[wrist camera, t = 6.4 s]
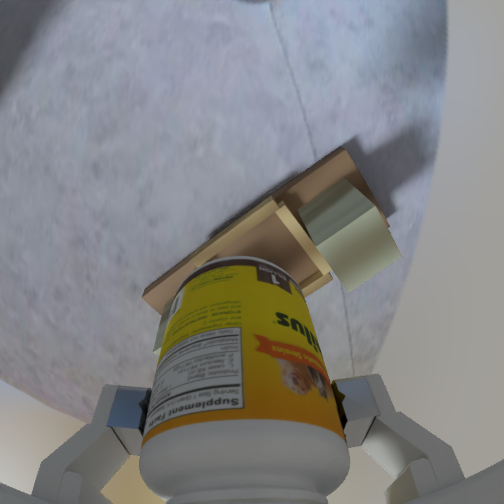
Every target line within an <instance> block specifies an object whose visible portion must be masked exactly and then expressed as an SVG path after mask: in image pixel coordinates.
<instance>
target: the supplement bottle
mask: <svg viewBox="0 0 504 504" xmlns="http://www.w3.org/2000/svg"><path fill="white" fill-rule="evenodd" d="M349 468H350V456H349V451H348V446H347V441H346V437H345V434H344V431H343V427H342V423H341V420H340V416H339V412H338V408H337V405H336V401H335V398H334V394H333V390H332V387H331V384H330V379H329V377H328V374H327V370H326V367H325V364H324V360H323V356H322V353H321V350H320V347H319V343H318V340H317V336H316V333H315V330H314V327H313V323H312V320H311V317H310V314H309V310H308V307H307V304H306V301H305V298H304V296H303V293H302V291H301V289H300V287H299V286H298V284H297V283H296V281H295V280H294V279H293V278H292V277H291V276H290V275H289V274H288V273H287V272H286V271H284V270H283V269H282V268H280V267H278V266H277V265H275V264H273V263H271V262H268V261H266V260H263V259H260V258H256V257H250V256H229V257H223V258H219V259H215V260H212V261H210V262H207V263H205V264H203V265H202V266H200V267H198V268H197V269H195V270H194V271H193V272H191V273H190V274H189V275H188V276H187V277H186V278H185V279H184V281H183V282H182V283H181V285H180V286H179V288H178V290H177V292H176V294H175V297H174V300H173V303H172V307H171V311H170V315H169V319H168V323H167V326H166V331H165V335H164V339H163V343H162V347H161V352H160V356H159V360H158V364H157V369H156V374H155V379H154V383H153V388H152V393H151V398H150V403H149V408H148V413H147V418H146V423H145V429H144V434H143V440H142V444H141V451H140V459H139V470H140V474H141V476H142V479H143V481H144V482H145V484H146V485H147V486H148V488H149V489H150V490H151V491H152V492H154V493H155V494H156V495H157V496H159V497H160V498H162V499H164V500H166V501H167V502H166V504H328V500H327V498H326V496H328V495H329V494H331V493H332V492H334V491H335V490H336V489H337V488H338V487H339V486H340V485H341V484H342V483H343V481H344V480H345V478H346V476H347V474H348V471H349Z"/></svg>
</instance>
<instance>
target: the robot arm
mask: <svg viewBox="0 0 504 504" xmlns="http://www.w3.org/2000/svg"><path fill="white" fill-rule="evenodd" d="M331 387H332V390H333V394H334V398H335V401H336V405H337V408H338V412H339V416H340V420H341V423H342V427H343V431H344V434H345V437H346V441H347V446H348V448H351V447H356V446H361V448H363V449H364V450H365V451H366V452H367V453H368V454H369V455H370V456H371V457H372V458H373V459H374V460H375V461H376V462H377V463H378V464H379V465H380V466H381V467H383V468H384V469H385V470H386V471H387V472H388V473H389V474H390V475H391V476H392V477H393V478H394V479H396V480H395V481H394V482H393V483H392V484H391V485H390V486H389V488H388V489H387V490H386V491H385V493H384V495H385V499H386V503H387V504H504V459H503V460H501V461H500V462H498V463H496V464H494V465H492V466H490V467H488V468H486V469H484V470H482V471H480V472H478V473H476V474H474V475H473V476H470V477H468V478H466V479H465V477H464V475H463V472H462V470H461V467H460V465H459V463H458V460H457V458H456V456H455V454H454V451H453V449H452V447H451V446H450V445H448V444H447V443H445V442H444V441H442V440H441V439H439V438H438V437H436V436H435V435H433V434H432V433H430V432H429V431H427V430H426V429H425V428H423V427H422V426H420V425H419V424H417V423H416V422H415V421H413V420H412V419H410V418H409V417H407V416H406V415H404V414H403V413H402V412H396V411H395V408H394V406H393V404H392V401H391V399H390V397H389V394H388V392H387V390H386V387H385V385H384V382H383V380H382V378H381V376H380V375H379V374H372V375H366V376H357V377H351V378H345V379H338V380H333V381H332V383H331ZM151 393H152V390H151V388H143V387H131V386H121V385H110V384H106V385H105V386H104V387H103V388H102V391H101V394H100V397H99V400H98V403H97V406H96V409H95V413H94V416H93V419H92V422H91V424H86V425H85V426H84V427H82V428H81V429H80V430H79V431H78V432H77V433H75V434H74V435H73V436H72V437H71V438H70V439H68V440H67V441H66V442H65V443H64V444H62V445H61V446H60V447H59V448H58V449H56V450H55V451H54V452H53V453H52V454H50V455H49V456H48V457H47V458H46V459H44V460H43V461H42V462H41V464H40V468H39V471H38V474H37V477H36V480H35V484H34V487H33V491H32V494H31V495H29V494H27V493H24V492H21V491H19V490H16V489H14V488H12V487H9V486H7V485H5V484H3V483H0V504H112V503H111V501H110V500H109V499H108V498H106V497H105V496H104V495H103V494H102V493H101V492H100V490H101V489H102V488H103V487H104V486H105V485H106V484H107V483H108V481H109V480H110V479H111V478H112V477H113V475H114V474H115V473H116V472H117V471H118V470H119V469H120V468H121V466H122V465H123V464H124V463H125V462H126V461H127V459H128V458H129V457H130V455H137V456H140V451H141V444H142V440H143V434H144V429H145V423H146V418H147V413H148V408H149V403H150V398H151Z"/></svg>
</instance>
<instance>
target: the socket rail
mask: <svg viewBox="0 0 504 504" xmlns="http://www.w3.org/2000/svg"><path fill="white" fill-rule="evenodd" d="M389 227H390V225H389V224H388V222H387V220H386V218H385V216H384V214H383V212H382V210H381V209H380V207H379V205H378V203H377V201H376V200H375V198H374V196H373V194H372V192H371V191H370V189H369V187H368V185H367V184H366V182H365V180H364V179H363V177H362V175H361V174H360V172H359V170H358V168H357V167H356V165H355V164H354V162H353V160H352V159H351V157H350V155H349V154H348V152H347V151H346V149H344V148H342V147H341V146H340V147H339V148H337V149H336V150H334V151H333V152H331V153H330V154H328V155H327V156H326V157H324V158H323V159H321V160H320V161H318V162H317V163H316V164H314V165H313V166H311V167H310V168H308V169H307V170H306V171H304V172H303V173H301V174H300V175H298V176H297V177H296V178H294V179H293V180H291V181H290V182H288V183H287V184H286V185H284V186H283V187H281V188H280V189H279V190H277V191H276V192H274V193H273V194H272V195H270V196H269V197H267V198H266V199H265V200H263V201H262V202H261V203H259V204H258V205H256V206H255V207H254V208H252V209H251V210H250V211H248V212H247V213H245V214H244V215H243V216H241V217H240V218H239V219H237V220H236V221H234V222H233V223H232V224H230V225H229V226H228V227H226V228H225V229H224V230H222V231H221V232H220V233H218V234H217V235H216V236H214V237H213V238H211V239H210V240H209V241H207V242H206V243H205V244H203V245H202V246H201V247H199V248H198V249H197V250H195V251H194V252H193V253H192V254H190V255H189V256H188V257H186V258H185V259H184V260H182V261H181V262H180V263H178V264H177V265H176V266H174V267H173V268H172V269H170V270H169V271H168V272H167V273H165V274H164V275H163V276H161V277H160V278H159V279H157V280H156V281H155V282H154V283H152V284H151V285H150V286H148V287H147V288H146V289H145V290H144V293H143V295H142V299H143V300H145V301H146V302H147V303H148V304H149V305H150V306H151V307H152V308H154V309H155V310H156V311H157V312H158V313H159V314H160V315H162V317H161V321H160V325H159V329H158V333H157V337H156V341H155V346H154V350H153V353H155V354H156V355H157V356H160V352H161V347H162V343H163V339H164V335H165V331H166V326H167V323H168V319H169V315H170V311H171V307H172V303H173V300H174V297H175V294H176V292H177V290H178V288H179V286H180V285H181V283H182V282H183V281H184V279H185V278H186V277H187V276H188V275H189V274H190V273H191V272H193V271H194V270H195V269H197V268H198V267H200V266H202V265H203V264H205V263H207V262H210V261H212V260H215V259H219V258H223V257H229V256H250V257H256V258H260V259H263V260H266V261H268V262H271V263H273V264H275V265H277V266H278V267H280V268H282V269H283V270H284V271H286V272H287V273H288V274H289V275H290V276H291V277H292V278H293V279H294V280H295V281H296V283H297V284H298V286H299V287H300V289H301V291H302V293H303V296H304V298H305V297H307V296H308V295H310V294H311V293H313V292H314V291H316V290H318V289H319V288H321V287H322V286H324V285H325V284H327V283H328V282H330V281H331V280H333V278H332V276H331V274H330V271H331V270H333V271H334V273H335V274H336V276H337V277H338V278H339V280H340V281H341V283H342V284H343V285H344V287H345V288H346V290H347V291H348V292H350V291H352V290H353V289H355V288H356V287H358V286H359V285H361V284H362V283H364V282H365V281H367V280H368V279H370V278H371V277H373V276H374V275H376V274H377V273H379V272H380V271H381V270H383V269H384V268H386V267H387V266H389V265H390V264H392V263H393V262H394V261H396V260H397V259H399V258H400V257H402V255H401V253H400V251H399V249H398V247H397V245H396V243H395V241H394V239H393V237H392V236H391V234H390V232H389V230H388V228H389Z"/></svg>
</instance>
